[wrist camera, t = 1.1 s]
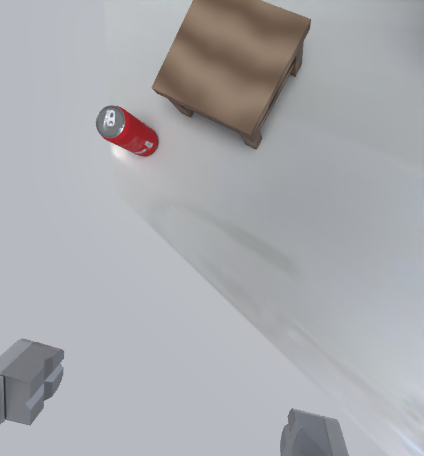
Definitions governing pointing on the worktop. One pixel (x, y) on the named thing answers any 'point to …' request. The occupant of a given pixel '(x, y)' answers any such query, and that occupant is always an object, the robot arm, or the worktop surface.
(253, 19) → the walnut stool
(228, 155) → the worktop surface
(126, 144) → the beverage can
